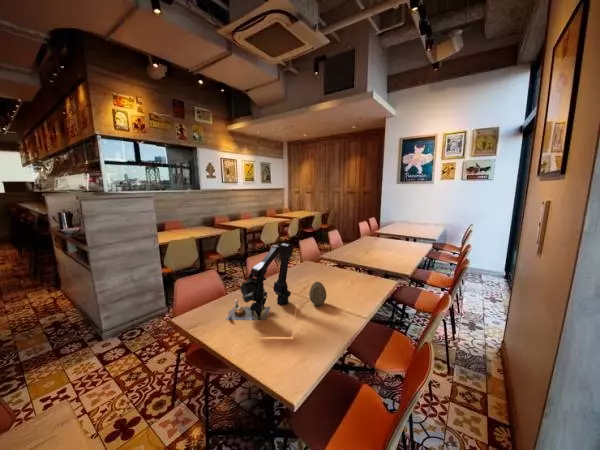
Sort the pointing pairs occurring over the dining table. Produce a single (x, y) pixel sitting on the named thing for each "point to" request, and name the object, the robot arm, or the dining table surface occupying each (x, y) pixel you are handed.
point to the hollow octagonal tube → (261, 313)
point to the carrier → (244, 313)
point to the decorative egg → (317, 293)
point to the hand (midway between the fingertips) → (260, 314)
